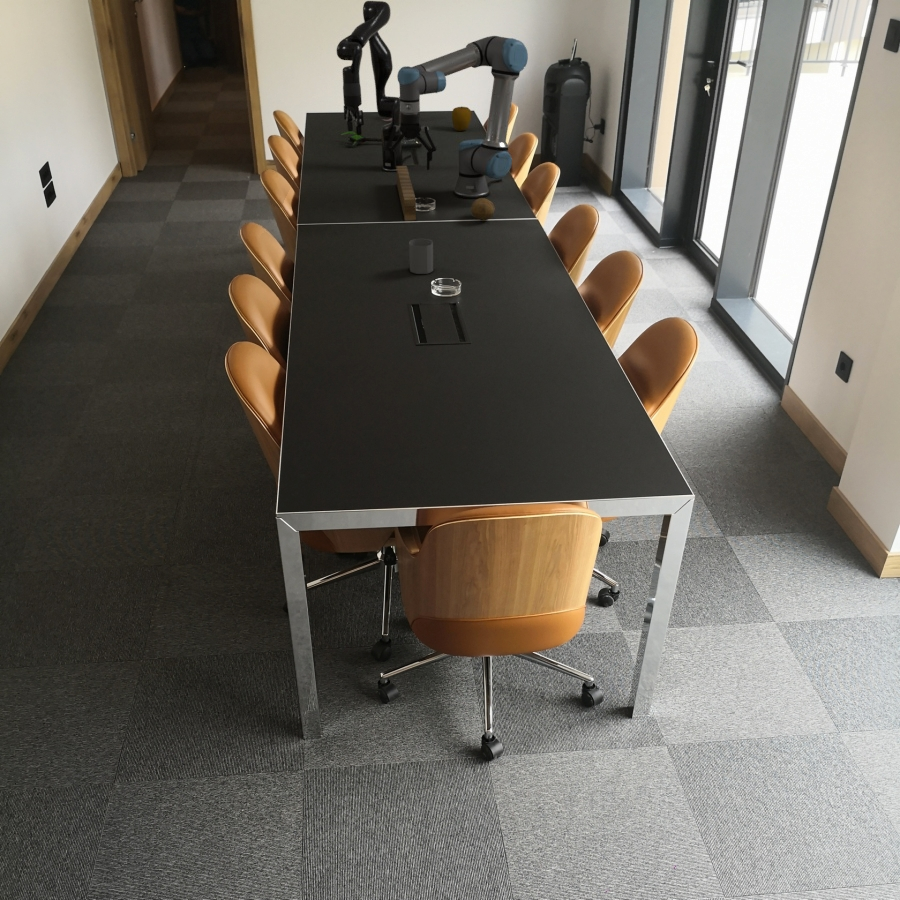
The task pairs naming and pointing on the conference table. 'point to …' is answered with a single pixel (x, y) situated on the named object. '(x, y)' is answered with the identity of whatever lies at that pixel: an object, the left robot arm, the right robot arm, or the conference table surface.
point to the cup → (421, 256)
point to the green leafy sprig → (358, 139)
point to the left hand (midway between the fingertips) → (354, 132)
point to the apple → (461, 118)
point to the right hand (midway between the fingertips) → (411, 168)
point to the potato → (482, 209)
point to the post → (406, 193)
